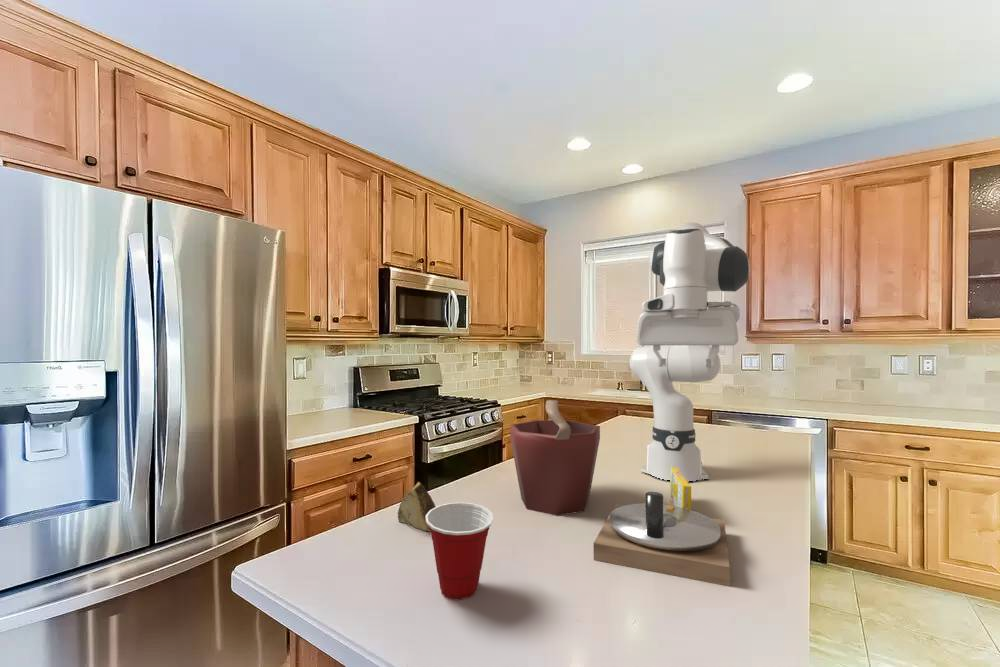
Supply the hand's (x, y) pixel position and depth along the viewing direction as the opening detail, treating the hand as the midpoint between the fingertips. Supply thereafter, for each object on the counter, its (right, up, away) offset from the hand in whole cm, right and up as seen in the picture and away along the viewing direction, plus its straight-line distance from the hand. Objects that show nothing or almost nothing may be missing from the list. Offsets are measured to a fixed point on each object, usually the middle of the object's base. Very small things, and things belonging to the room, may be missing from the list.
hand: (685, 367), depth 98 cm
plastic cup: (-46, -34, -26) cm, 63 cm away
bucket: (-27, -35, +14) cm, 46 cm away
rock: (-57, -34, +1) cm, 67 cm away
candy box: (+2, -35, +9) cm, 36 cm away
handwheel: (-8, -31, -10) cm, 34 cm away
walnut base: (-9, -34, -10) cm, 36 cm away
